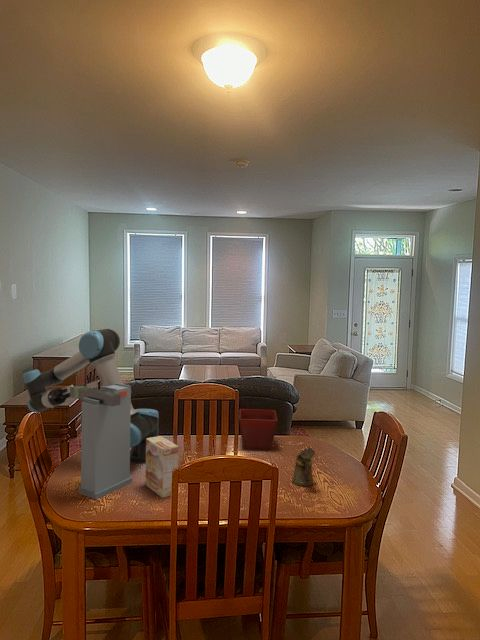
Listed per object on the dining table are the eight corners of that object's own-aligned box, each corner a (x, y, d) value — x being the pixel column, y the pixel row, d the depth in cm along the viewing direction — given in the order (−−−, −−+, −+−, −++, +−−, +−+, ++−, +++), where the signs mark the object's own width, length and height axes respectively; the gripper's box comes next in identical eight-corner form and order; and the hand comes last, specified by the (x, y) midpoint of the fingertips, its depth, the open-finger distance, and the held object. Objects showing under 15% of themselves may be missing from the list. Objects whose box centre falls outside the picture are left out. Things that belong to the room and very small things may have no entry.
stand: (78, 492, 181) (78, 390, 178) (115, 476, 197) (116, 382, 194) (95, 499, 176) (96, 393, 173) (132, 482, 192) (133, 385, 189)
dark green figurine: (295, 491, 188) (297, 448, 187) (290, 477, 202) (292, 437, 201) (317, 491, 189) (319, 448, 188) (310, 478, 202) (312, 437, 201)
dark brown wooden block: (69, 397, 186) (69, 386, 186) (78, 395, 189) (78, 385, 189) (112, 406, 173) (112, 395, 173) (120, 404, 177) (120, 393, 177)
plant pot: (276, 453, 232) (277, 420, 231) (238, 451, 232) (239, 418, 231) (274, 440, 251) (275, 409, 250) (238, 439, 251) (239, 408, 250)
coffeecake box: (144, 484, 190) (145, 438, 189) (160, 480, 195) (161, 435, 193) (161, 498, 179) (162, 448, 177) (178, 493, 183) (179, 445, 182)
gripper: (77, 401, 224) (108, 389, 214) (32, 410, 202) (64, 398, 192) (74, 386, 225) (104, 374, 215) (28, 393, 203) (59, 381, 193)
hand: (85, 385), depth 204 cm, fingers open, 13 cm apart
